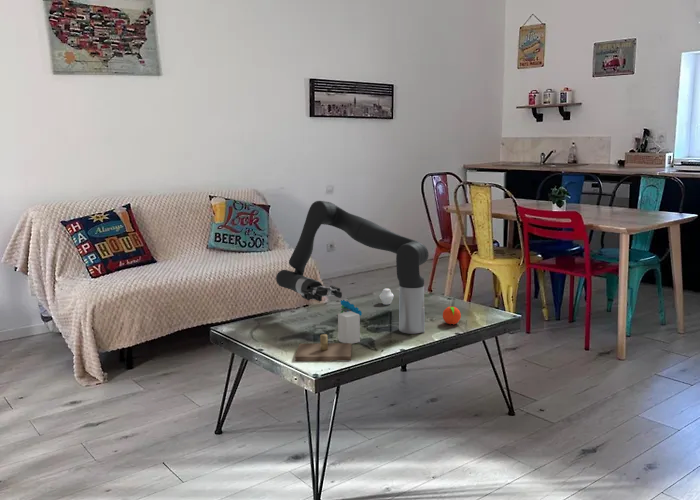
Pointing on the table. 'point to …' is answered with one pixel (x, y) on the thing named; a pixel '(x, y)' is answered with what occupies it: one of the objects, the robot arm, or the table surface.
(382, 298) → the white vase
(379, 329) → the table surface
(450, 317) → the clementine
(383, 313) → the table surface
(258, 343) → the table surface
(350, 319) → the block
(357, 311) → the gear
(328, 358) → the base plate
